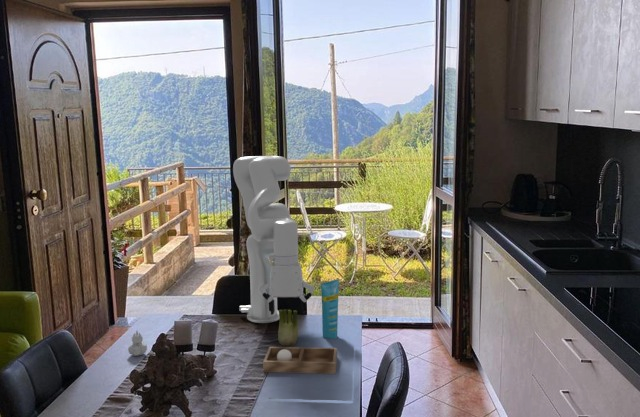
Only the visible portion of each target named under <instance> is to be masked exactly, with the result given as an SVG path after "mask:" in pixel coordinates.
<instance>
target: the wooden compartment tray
mask: <svg viewBox="0 0 640 417" xmlns="http://www.w3.org/2000/svg"><path fill="white" fill-rule="evenodd" d="M282 349H287V350H289V351H290V352H291V354H292V360H291V361H278V360H277V354H278V352H279V351H280V350H282ZM263 358H264V359H263V362H262V366H263V367H262V368H263V369H262V371H263V373H286V374H287V373H289V374H290V373H294V374H295V373H297V374H300V373H301V374H333V375H335V374H336V371H337V362H338V348H337V347H304V346H303V347H299V346H298V347H297V346H269V347H268V349H267V352H266V354H265V356H264V357H263Z"/></svg>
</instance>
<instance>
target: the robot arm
mask: <svg viewBox="0 0 640 417" xmlns="http://www.w3.org/2000/svg"><path fill="white" fill-rule="evenodd" d="M291 170H292V169H291V165H290V162H289V160H288V159H287V158H286V157H284V156H280V155H279V156H278V155H255V156H254V155H252V156H251V155H250V156H241V157H238V158H237V159H236V160H234V162H233V167H232V173H233V178H234V182H235V184H236V186H237V189H238V190H239V193H240V195H241V198H242V203H243V204H242V205H243V210H244V214H245V220H246V224H247V227H248V229H250V233H251V234H250V235H248V237H247V238H246V242H245V243H246V244H245V245H246V251H247V256H248V263H249V264H248V265H249V280H250V281H249V282H250V288H249V289H250V304H248V305H239V308H238V309H239V312H241V313H243V314H244V313H246V314H247V315H246V319H247V320H248V321H249V322H251V323H256V324H257V323H258V324H269V323H274V322H277V321H280V320H279V310H278V298H299V299H300V300H301V302H300V306H301V307H300V310H301V311H300V312H301V315H305V312H307V311H308V310H307V301H308V300H310V298H311V297H312V295H313V294H314V291H315V286H314V285H312V284H309V283H308V282H306V281H304V277H303V268H302V264H301V263H299V238H298V237H299V235H298V231H299V230H298V224H297V222H296V221H295V220H294V219H293V218H292V217H291V214H290V211H289V208H288V206H286V204H284V203H280V202H277V203H275V202H276V201H278V199H279V198H280V196H281V189H280V184H279V183H278V182H281V181H288V180H289V178H290V177H291V173H292V172H291ZM272 262H273V263H272ZM304 288H305V289H307V290H308V293H307V294H305V293H304Z"/></svg>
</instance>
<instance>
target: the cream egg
mask: <svg viewBox="0 0 640 417" xmlns="http://www.w3.org/2000/svg"><path fill="white" fill-rule="evenodd" d="M277 360H278V361H291V360H292V354H291V352H290V351H289V350H287V349H282V350H280V351H279V352H278V354H277Z"/></svg>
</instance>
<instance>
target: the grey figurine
mask: <svg viewBox="0 0 640 417" xmlns="http://www.w3.org/2000/svg"><path fill="white" fill-rule="evenodd" d="M143 340H144V339H143V335H142V334H141V332H139V331H138V330H136V332H134V333H133V335H132V337H131V341H132V343H131V344H130V345H129V346H128V353H129V354H130V355H132V356H135V357H136V356H137V357H139V356H142V355H144V354H145V353H146V352H147V350H148V345H147V344H146V342H144V341H143Z"/></svg>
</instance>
